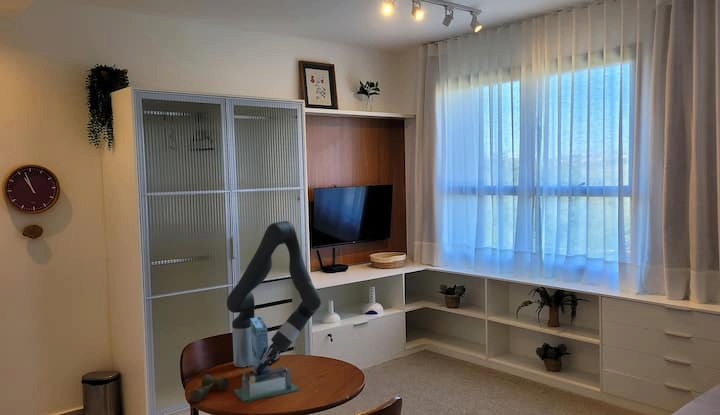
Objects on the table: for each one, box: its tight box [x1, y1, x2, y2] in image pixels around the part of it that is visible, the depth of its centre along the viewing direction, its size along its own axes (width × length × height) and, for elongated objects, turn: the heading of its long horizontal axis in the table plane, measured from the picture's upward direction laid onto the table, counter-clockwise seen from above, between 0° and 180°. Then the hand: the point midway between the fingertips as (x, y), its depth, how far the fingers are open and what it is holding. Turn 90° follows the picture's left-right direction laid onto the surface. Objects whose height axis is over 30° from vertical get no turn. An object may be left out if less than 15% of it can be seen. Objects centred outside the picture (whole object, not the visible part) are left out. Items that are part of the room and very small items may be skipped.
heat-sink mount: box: [233, 365, 300, 404], centre depth 219 cm, size 13×22×8 cm, turn 119°
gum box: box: [250, 316, 271, 373], centre depth 236 cm, size 20×5×23 cm, turn 17°
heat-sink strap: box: [246, 366, 288, 378], centre depth 219 cm, size 4×16×1 cm, turn 119°
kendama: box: [189, 373, 230, 403], centre depth 219 cm, size 6×10×20 cm
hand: (257, 372), depth 217 cm, fingers closed
